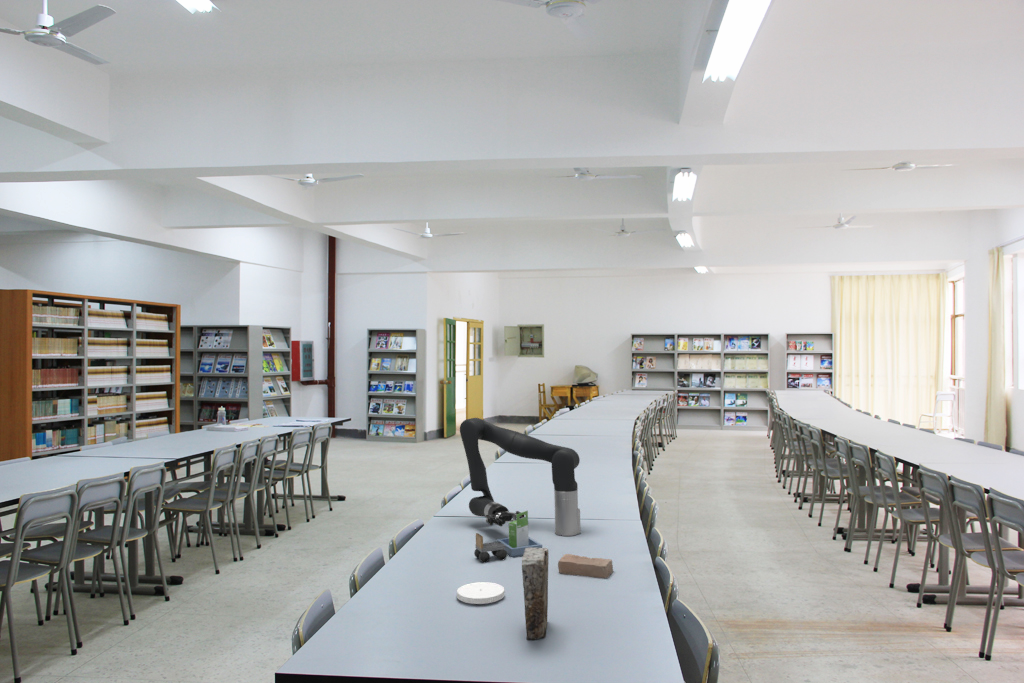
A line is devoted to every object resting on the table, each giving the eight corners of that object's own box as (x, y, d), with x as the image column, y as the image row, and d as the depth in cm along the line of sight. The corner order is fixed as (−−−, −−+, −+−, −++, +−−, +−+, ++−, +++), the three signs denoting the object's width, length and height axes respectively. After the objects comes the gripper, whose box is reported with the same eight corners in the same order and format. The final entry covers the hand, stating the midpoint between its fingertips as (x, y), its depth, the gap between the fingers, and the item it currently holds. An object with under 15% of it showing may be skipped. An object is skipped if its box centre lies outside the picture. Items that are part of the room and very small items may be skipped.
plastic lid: (487, 610, 194) (487, 601, 194) (447, 602, 201) (447, 593, 201) (513, 595, 206) (513, 586, 206) (475, 587, 213) (474, 579, 213)
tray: (526, 543, 260) (526, 535, 260) (542, 553, 247) (542, 544, 247) (496, 547, 255) (496, 539, 255) (511, 557, 242) (511, 549, 242)
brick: (613, 571, 226) (613, 557, 226) (607, 579, 218) (606, 564, 218) (565, 567, 232) (564, 553, 232) (557, 574, 224) (557, 560, 224)
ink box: (520, 545, 255) (519, 509, 255) (529, 547, 252) (528, 510, 253) (508, 549, 250) (507, 512, 250) (517, 551, 247) (516, 514, 247)
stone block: (523, 620, 186) (522, 545, 186) (549, 620, 185) (548, 545, 186) (523, 641, 172) (521, 560, 173) (551, 640, 172) (549, 560, 172)
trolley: (500, 554, 246) (500, 529, 246) (507, 559, 240) (506, 533, 241) (474, 558, 242) (473, 533, 242) (480, 563, 237) (479, 537, 237)
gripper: (479, 505, 269) (494, 514, 254) (512, 501, 274) (529, 509, 259) (479, 524, 269) (494, 534, 254) (513, 520, 274) (530, 529, 259)
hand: (512, 522), depth 257 cm, fingers open, 8 cm apart
